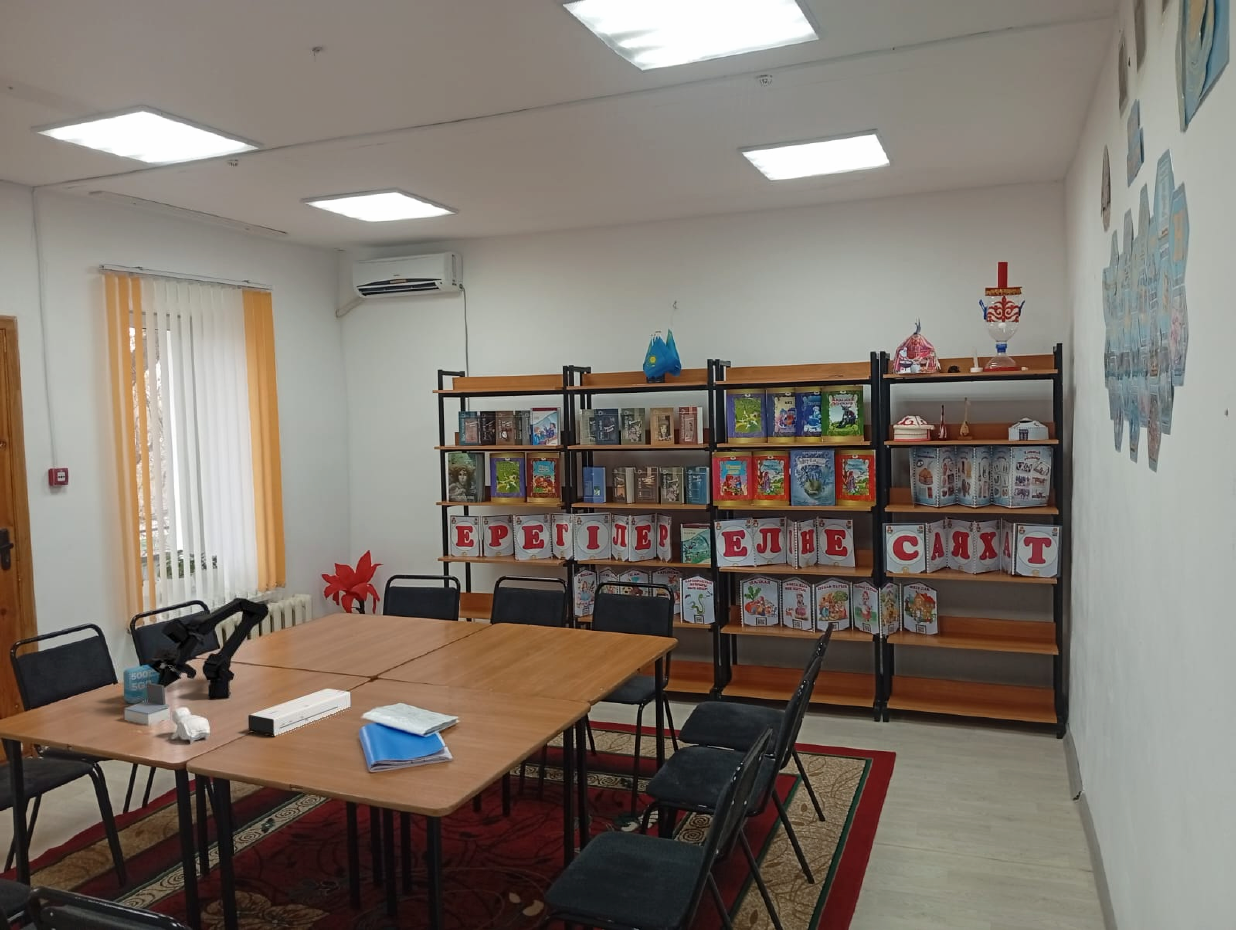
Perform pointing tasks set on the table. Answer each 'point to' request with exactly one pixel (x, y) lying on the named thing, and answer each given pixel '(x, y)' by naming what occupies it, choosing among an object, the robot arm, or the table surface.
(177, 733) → the white animal figurine
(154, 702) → the carton lid
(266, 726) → the laminator
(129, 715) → the carton
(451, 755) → the table surface
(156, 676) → the data package
